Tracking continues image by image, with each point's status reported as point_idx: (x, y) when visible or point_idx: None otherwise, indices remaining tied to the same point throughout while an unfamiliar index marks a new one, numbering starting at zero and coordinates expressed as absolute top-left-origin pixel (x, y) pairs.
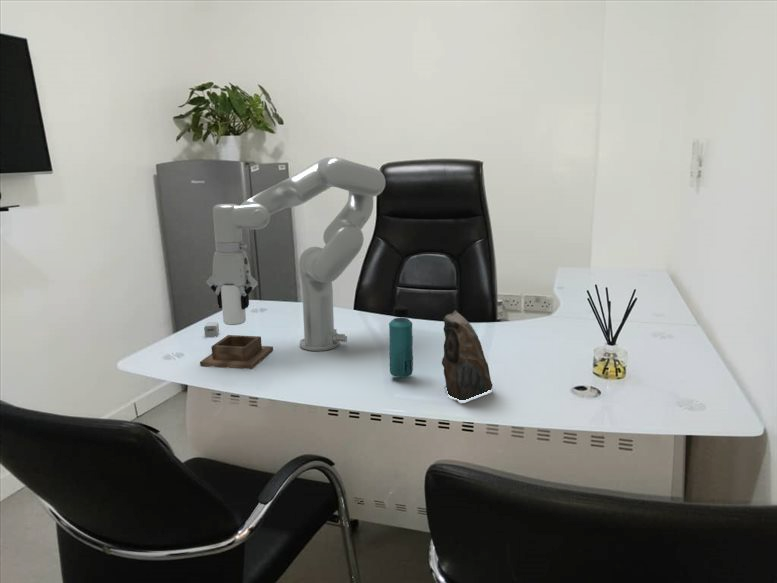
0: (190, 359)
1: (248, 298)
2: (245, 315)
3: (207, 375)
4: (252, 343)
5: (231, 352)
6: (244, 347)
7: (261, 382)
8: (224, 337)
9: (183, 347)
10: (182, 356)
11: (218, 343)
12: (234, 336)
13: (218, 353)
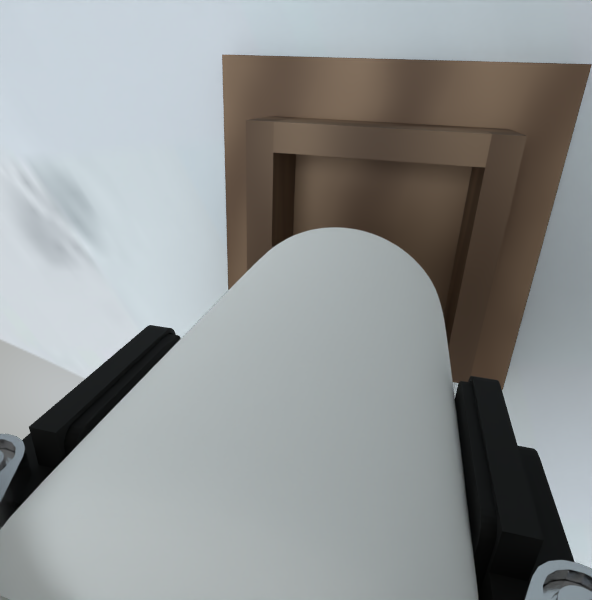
0: (151, 259)
1: (558, 531)
2: (446, 338)
3: None
4: (489, 294)
5: None
6: (453, 369)
7: (577, 510)
8: (247, 183)
9: (13, 86)
10: (94, 222)
11: None
12: (307, 153)
13: None
